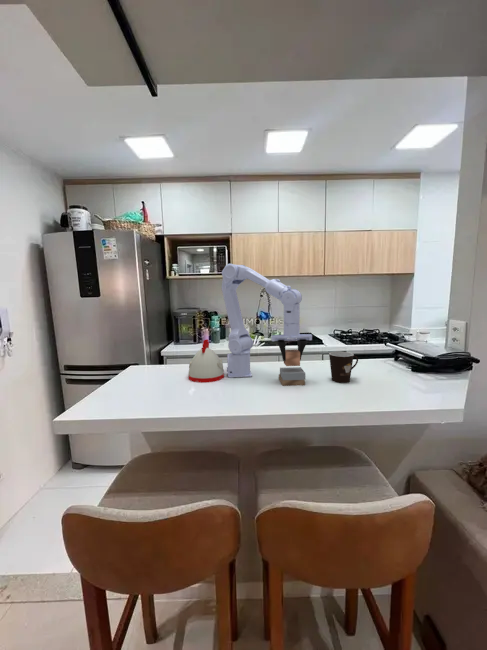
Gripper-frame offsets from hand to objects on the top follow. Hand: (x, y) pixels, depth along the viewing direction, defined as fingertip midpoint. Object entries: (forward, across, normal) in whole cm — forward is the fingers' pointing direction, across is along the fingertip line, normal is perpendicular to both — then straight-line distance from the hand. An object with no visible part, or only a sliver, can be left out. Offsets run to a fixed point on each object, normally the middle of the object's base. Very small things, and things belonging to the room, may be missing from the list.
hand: (291, 360), depth 112 cm
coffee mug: (+8, +20, 0) cm, 22 cm away
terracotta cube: (+2, 0, 0) cm, 2 cm away
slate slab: (+6, 0, 0) cm, 6 cm away
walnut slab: (+9, 0, 0) cm, 9 cm away
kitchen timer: (+9, -32, +10) cm, 35 cm away
